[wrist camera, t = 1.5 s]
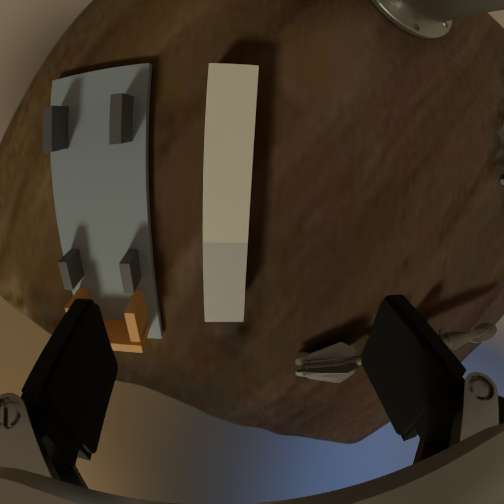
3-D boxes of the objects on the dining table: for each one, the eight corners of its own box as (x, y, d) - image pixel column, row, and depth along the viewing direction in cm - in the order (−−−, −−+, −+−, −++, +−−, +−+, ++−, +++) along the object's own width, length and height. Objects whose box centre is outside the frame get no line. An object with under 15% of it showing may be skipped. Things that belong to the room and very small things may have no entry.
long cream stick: (210, 73, 20) (208, 63, 17) (252, 75, 21) (258, 65, 17) (206, 298, 30) (204, 321, 26) (240, 298, 30) (243, 321, 26)
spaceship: (490, 358, 32) (517, 335, 26) (295, 404, 33) (302, 389, 27) (477, 320, 37) (500, 294, 32) (290, 351, 38) (295, 325, 32)
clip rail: (57, 81, 18) (29, 77, 14) (152, 65, 19) (136, 52, 15) (87, 327, 30) (73, 354, 25) (163, 333, 31) (156, 363, 26)
